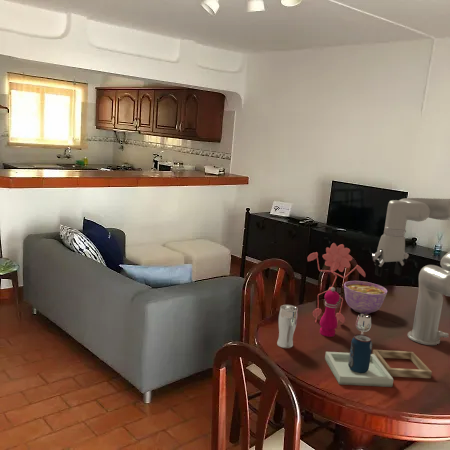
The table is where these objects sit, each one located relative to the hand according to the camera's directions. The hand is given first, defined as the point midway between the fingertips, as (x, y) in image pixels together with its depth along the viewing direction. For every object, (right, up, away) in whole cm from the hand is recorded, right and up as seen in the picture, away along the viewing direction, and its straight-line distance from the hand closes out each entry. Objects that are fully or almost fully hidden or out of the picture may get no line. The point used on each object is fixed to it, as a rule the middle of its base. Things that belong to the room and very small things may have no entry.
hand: (387, 275), depth 189 cm
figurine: (-17, -23, +25) cm, 38 cm away
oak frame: (0, -32, -14) cm, 35 cm away
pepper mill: (-22, -25, +10) cm, 35 cm away
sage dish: (-18, -32, -21) cm, 42 cm away
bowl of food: (+2, -21, +41) cm, 46 cm away
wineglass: (-10, -28, +2) cm, 30 cm away
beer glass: (-41, -26, -4) cm, 49 cm away
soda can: (-18, -31, -21) cm, 41 cm away
